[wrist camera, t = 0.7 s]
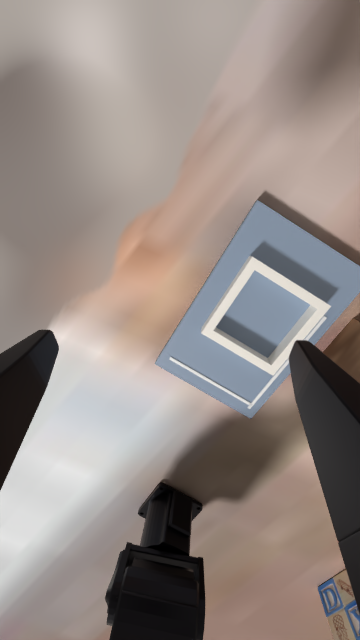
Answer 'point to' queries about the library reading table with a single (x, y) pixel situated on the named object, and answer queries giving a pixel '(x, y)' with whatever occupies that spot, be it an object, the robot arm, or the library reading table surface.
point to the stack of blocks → (340, 607)
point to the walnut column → (347, 349)
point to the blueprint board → (259, 310)
